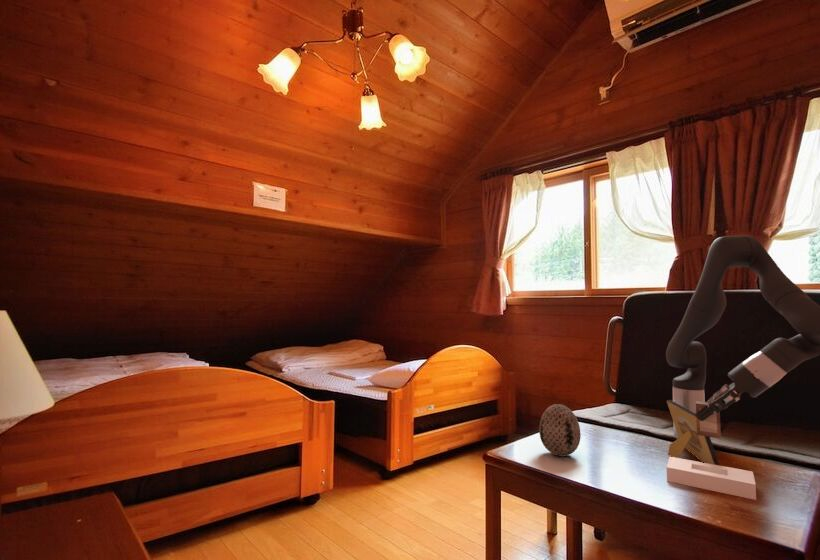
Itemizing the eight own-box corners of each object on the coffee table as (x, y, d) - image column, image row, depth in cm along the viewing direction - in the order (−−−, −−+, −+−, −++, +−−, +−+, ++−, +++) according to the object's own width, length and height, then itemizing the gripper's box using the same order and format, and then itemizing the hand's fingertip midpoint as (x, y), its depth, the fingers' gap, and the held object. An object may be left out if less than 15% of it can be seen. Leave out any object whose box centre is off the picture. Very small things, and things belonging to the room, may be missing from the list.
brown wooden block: (697, 432, 114) (696, 401, 114) (720, 435, 111) (719, 403, 111) (696, 435, 111) (695, 403, 112) (720, 438, 108) (719, 405, 109)
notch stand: (670, 469, 120) (669, 456, 120) (753, 485, 109) (752, 471, 109) (666, 481, 111) (666, 467, 112) (756, 499, 101) (755, 484, 101)
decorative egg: (552, 463, 123) (552, 409, 124) (532, 449, 134) (532, 400, 135) (589, 460, 125) (588, 408, 126) (566, 447, 137) (566, 399, 138)
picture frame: (722, 473, 117) (713, 417, 118) (685, 474, 119) (677, 418, 120) (686, 446, 140) (679, 399, 141) (656, 447, 141) (649, 401, 143)
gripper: (741, 359, 114) (687, 400, 120) (744, 364, 102) (684, 409, 108) (768, 382, 110) (711, 423, 117) (774, 390, 99) (710, 435, 105)
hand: (698, 416), depth 112 cm, fingers closed on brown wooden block, 3 cm apart
